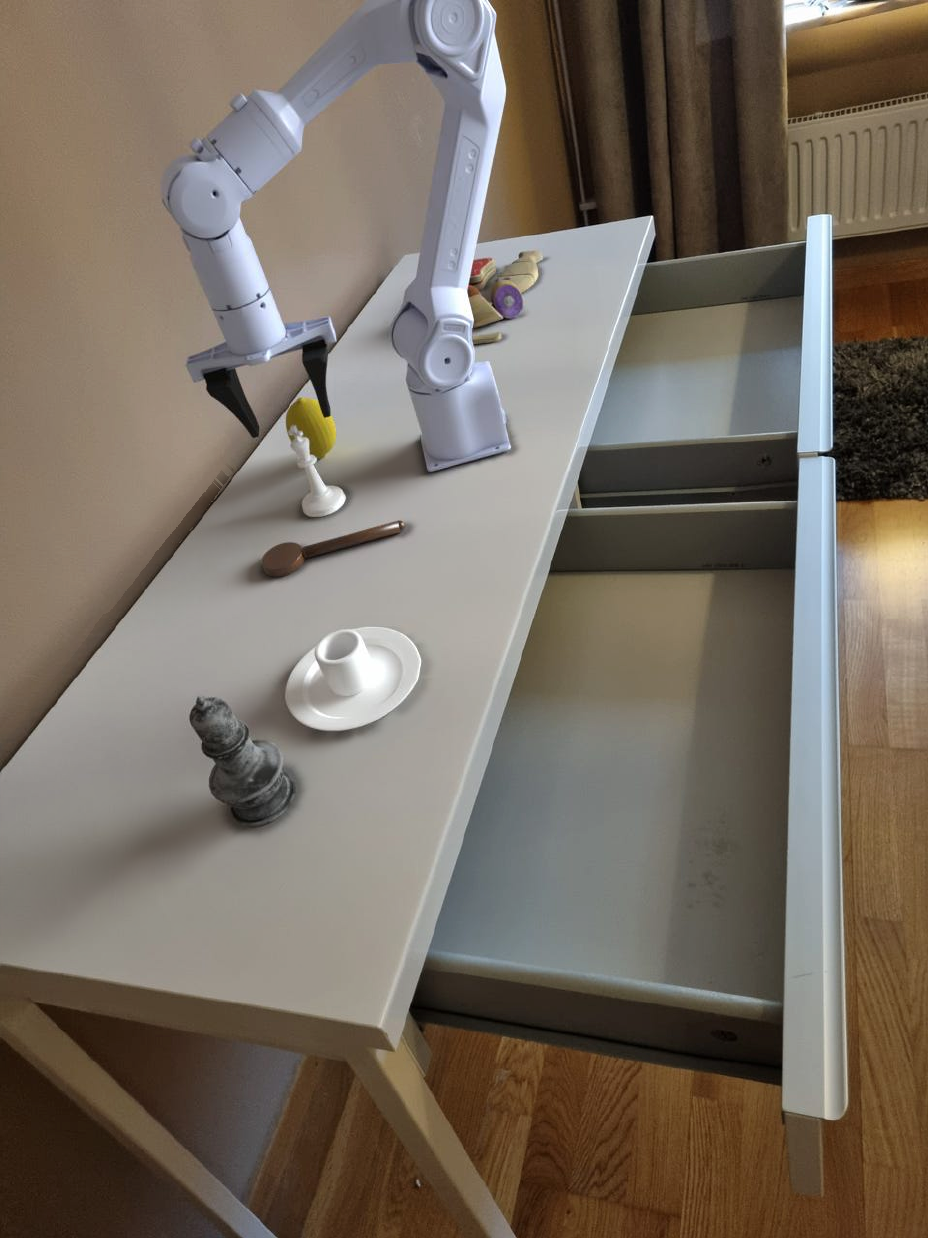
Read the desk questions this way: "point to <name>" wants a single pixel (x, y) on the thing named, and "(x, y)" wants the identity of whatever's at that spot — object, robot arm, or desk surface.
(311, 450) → the lemon
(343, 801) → the desk surface
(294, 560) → the spoon
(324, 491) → the chess piece
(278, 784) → the dark grey turned piece
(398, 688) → the candle holder
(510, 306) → the toy food set
